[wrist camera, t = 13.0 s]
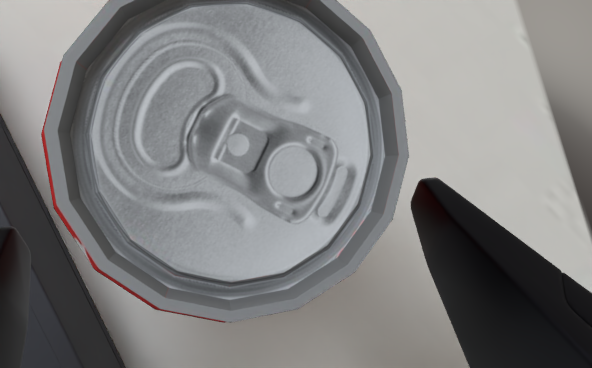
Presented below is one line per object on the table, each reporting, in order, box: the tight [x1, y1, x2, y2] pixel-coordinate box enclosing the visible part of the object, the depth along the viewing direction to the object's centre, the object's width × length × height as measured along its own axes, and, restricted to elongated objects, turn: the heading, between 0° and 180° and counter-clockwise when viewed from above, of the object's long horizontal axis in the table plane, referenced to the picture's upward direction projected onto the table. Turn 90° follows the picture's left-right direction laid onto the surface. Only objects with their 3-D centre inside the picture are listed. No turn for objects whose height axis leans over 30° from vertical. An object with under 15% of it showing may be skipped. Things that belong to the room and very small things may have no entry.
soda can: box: [41, 0, 409, 322], centre depth 12 cm, size 6×6×12 cm
